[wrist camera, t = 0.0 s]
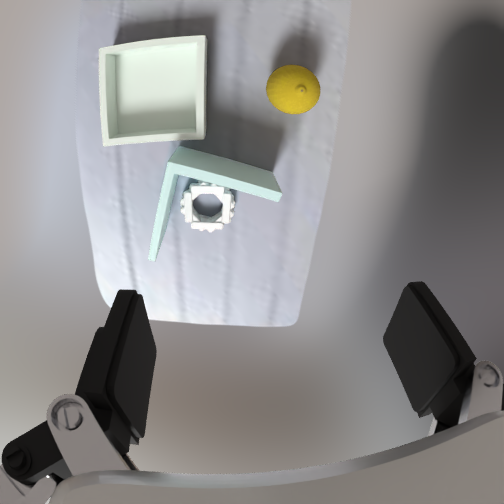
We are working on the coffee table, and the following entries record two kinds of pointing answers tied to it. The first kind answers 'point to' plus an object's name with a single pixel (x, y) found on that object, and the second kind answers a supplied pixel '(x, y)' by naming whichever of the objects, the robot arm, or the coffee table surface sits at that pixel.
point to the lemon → (293, 89)
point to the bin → (153, 90)
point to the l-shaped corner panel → (208, 189)
